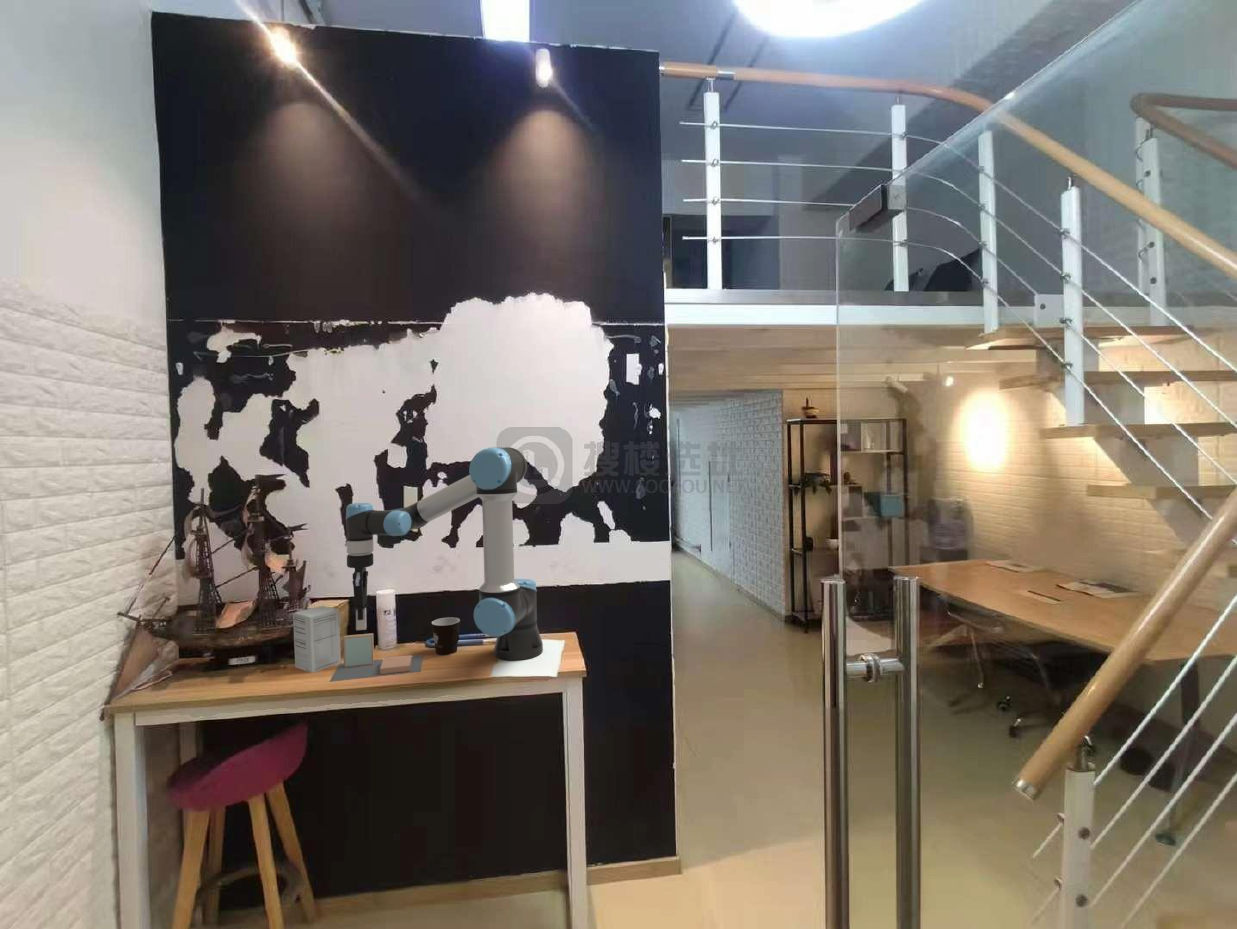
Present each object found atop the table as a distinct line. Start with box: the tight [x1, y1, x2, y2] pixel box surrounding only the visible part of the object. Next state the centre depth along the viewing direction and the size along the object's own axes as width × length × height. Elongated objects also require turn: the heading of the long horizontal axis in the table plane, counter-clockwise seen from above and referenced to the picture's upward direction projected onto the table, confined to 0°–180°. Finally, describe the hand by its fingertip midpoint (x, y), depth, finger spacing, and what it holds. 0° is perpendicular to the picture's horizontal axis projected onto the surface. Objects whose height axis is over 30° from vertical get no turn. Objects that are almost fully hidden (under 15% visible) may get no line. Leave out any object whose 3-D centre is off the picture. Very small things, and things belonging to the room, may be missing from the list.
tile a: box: [380, 654, 413, 674], centre depth 173 cm, size 8×2×9 cm
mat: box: [329, 654, 424, 682], centre depth 173 cm, size 24×14×1 cm, turn 105°
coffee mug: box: [431, 616, 461, 656], centre depth 184 cm, size 12×9×10 cm
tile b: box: [343, 632, 375, 668], centre depth 175 cm, size 8×2×9 cm, turn 105°
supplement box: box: [292, 605, 342, 674], centre depth 175 cm, size 10×9×17 cm
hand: (361, 629), depth 182 cm, fingers closed
